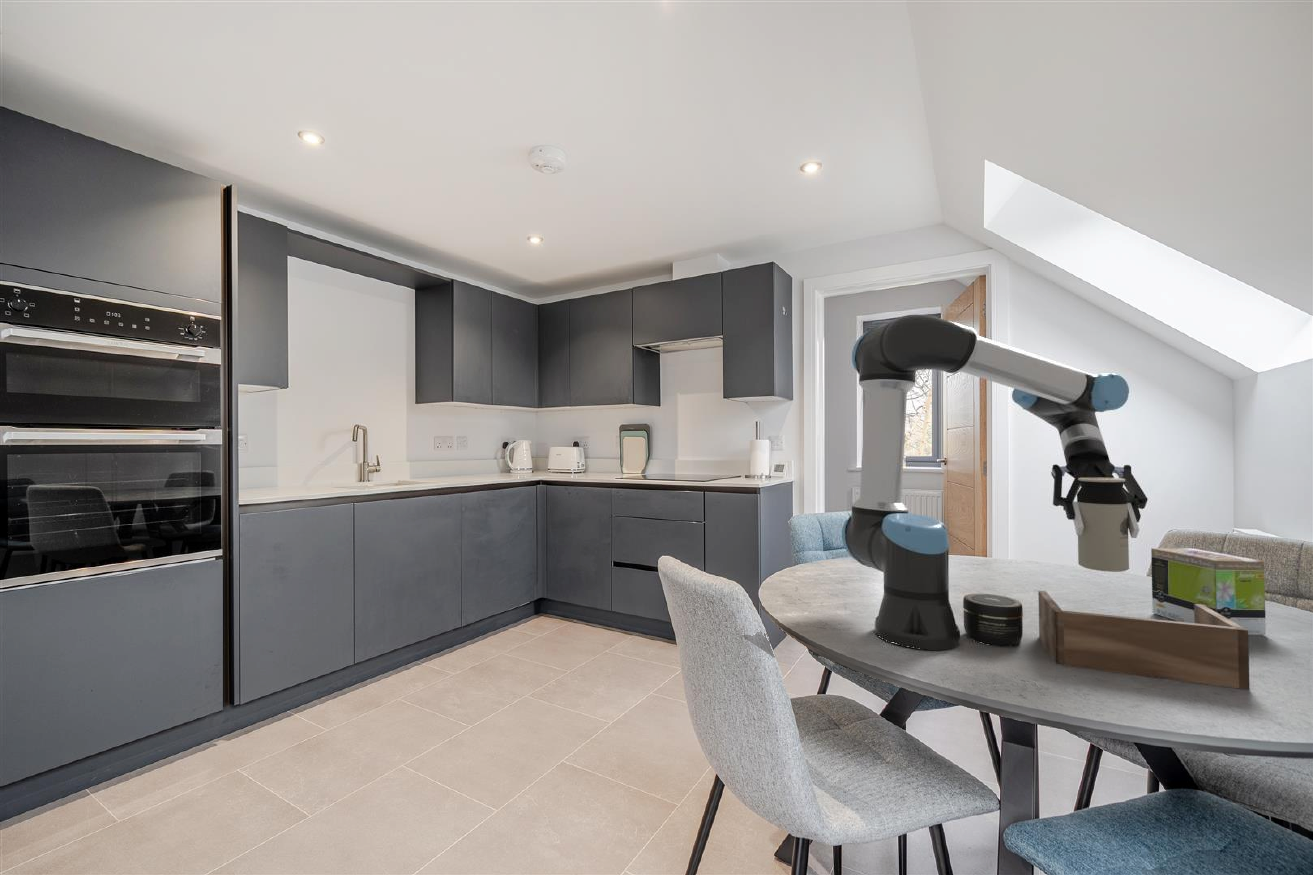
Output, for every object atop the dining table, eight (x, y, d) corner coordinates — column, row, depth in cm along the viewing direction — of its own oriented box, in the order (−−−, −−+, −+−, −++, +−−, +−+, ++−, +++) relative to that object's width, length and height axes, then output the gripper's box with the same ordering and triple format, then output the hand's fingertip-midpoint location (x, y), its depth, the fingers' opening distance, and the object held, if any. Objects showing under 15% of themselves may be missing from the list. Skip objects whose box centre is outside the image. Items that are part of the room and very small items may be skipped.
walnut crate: (1039, 636, 110) (1038, 590, 110) (1204, 655, 99) (1203, 604, 99) (1056, 664, 96) (1055, 611, 96) (1249, 689, 85) (1248, 630, 86)
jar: (964, 627, 116) (963, 590, 116) (1022, 635, 111) (1021, 596, 111) (962, 642, 107) (961, 602, 107) (1025, 651, 102) (1024, 609, 102)
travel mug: (1069, 565, 115) (1067, 478, 115) (1094, 562, 118) (1092, 476, 118) (1112, 573, 108) (1110, 480, 108) (1138, 570, 111) (1136, 478, 111)
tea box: (1269, 636, 109) (1267, 560, 109) (1216, 636, 109) (1214, 560, 110) (1196, 613, 124) (1194, 546, 125) (1150, 613, 124) (1148, 546, 125)
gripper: (1139, 461, 123) (1170, 547, 108) (1026, 460, 131) (1041, 540, 117) (1147, 436, 118) (1181, 523, 103) (1030, 438, 127) (1046, 518, 112)
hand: (1107, 532), depth 110 cm, fingers closed on travel mug, 8 cm apart
